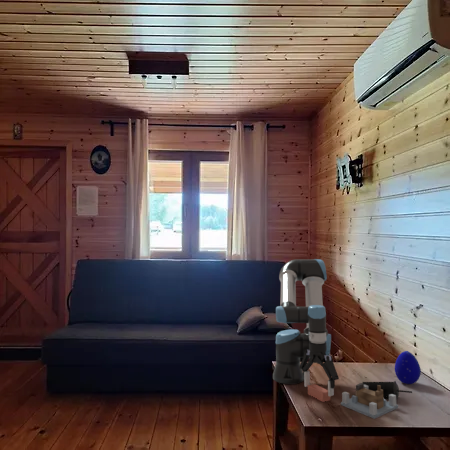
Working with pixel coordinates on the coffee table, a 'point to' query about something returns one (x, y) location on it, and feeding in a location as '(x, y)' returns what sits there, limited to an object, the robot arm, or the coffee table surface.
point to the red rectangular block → (318, 392)
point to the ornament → (407, 368)
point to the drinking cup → (386, 388)
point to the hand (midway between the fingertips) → (318, 390)
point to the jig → (372, 407)
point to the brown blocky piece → (369, 395)
